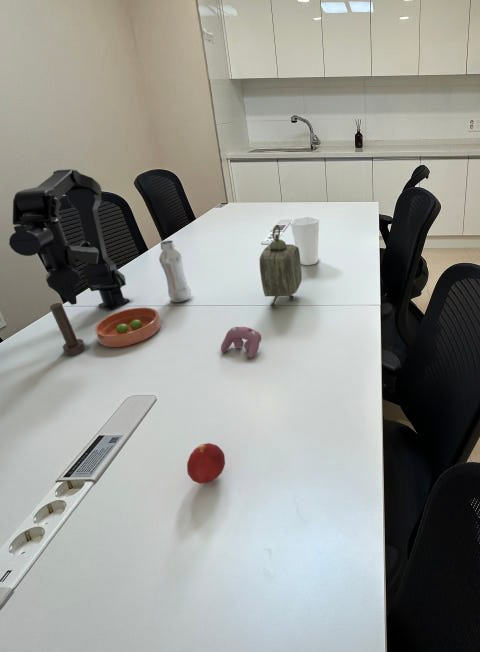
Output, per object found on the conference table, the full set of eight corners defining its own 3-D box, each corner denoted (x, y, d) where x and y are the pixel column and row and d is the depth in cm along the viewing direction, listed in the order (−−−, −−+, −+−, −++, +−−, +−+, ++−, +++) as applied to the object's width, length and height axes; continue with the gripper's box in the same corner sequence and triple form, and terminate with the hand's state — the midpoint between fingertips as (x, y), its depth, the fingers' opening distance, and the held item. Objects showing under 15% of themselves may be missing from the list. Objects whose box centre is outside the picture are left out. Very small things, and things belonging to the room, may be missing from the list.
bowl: (87, 340, 106) (82, 328, 104) (139, 315, 119) (135, 303, 117) (122, 354, 100) (117, 341, 98) (172, 325, 112) (169, 313, 111)
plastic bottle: (184, 305, 124) (169, 246, 116) (165, 303, 125) (149, 245, 117) (196, 296, 129) (183, 239, 121) (178, 294, 131) (164, 238, 123)
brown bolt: (63, 350, 102) (42, 305, 95) (82, 342, 105) (63, 298, 98) (68, 358, 99) (47, 312, 92) (87, 349, 102) (68, 305, 95)
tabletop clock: (277, 290, 132) (268, 219, 122) (304, 289, 132) (296, 218, 122) (266, 311, 119) (254, 233, 109) (295, 310, 118) (286, 233, 108)
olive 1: (111, 328, 106) (120, 320, 106) (118, 329, 109) (127, 322, 109) (116, 335, 105) (126, 328, 106) (124, 337, 108) (133, 330, 109)
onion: (198, 465, 68) (189, 431, 65) (232, 462, 69) (224, 429, 66) (187, 496, 63) (176, 461, 60) (223, 492, 63) (214, 457, 60)
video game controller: (261, 356, 100) (265, 329, 100) (251, 359, 96) (254, 331, 96) (230, 349, 103) (233, 323, 103) (218, 352, 99) (222, 324, 99)
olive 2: (133, 318, 110) (125, 324, 108) (140, 316, 109) (132, 322, 107) (139, 327, 111) (131, 333, 109) (146, 325, 110) (139, 331, 108)
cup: (327, 260, 156) (324, 219, 149) (311, 269, 148) (306, 226, 141) (306, 255, 161) (302, 215, 154) (289, 263, 154) (284, 222, 147)
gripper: (94, 243, 93) (113, 300, 99) (87, 226, 106) (104, 278, 113) (35, 255, 87) (60, 315, 93) (35, 235, 100) (57, 289, 106)
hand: (73, 297), depth 102 cm, fingers open, 9 cm apart
